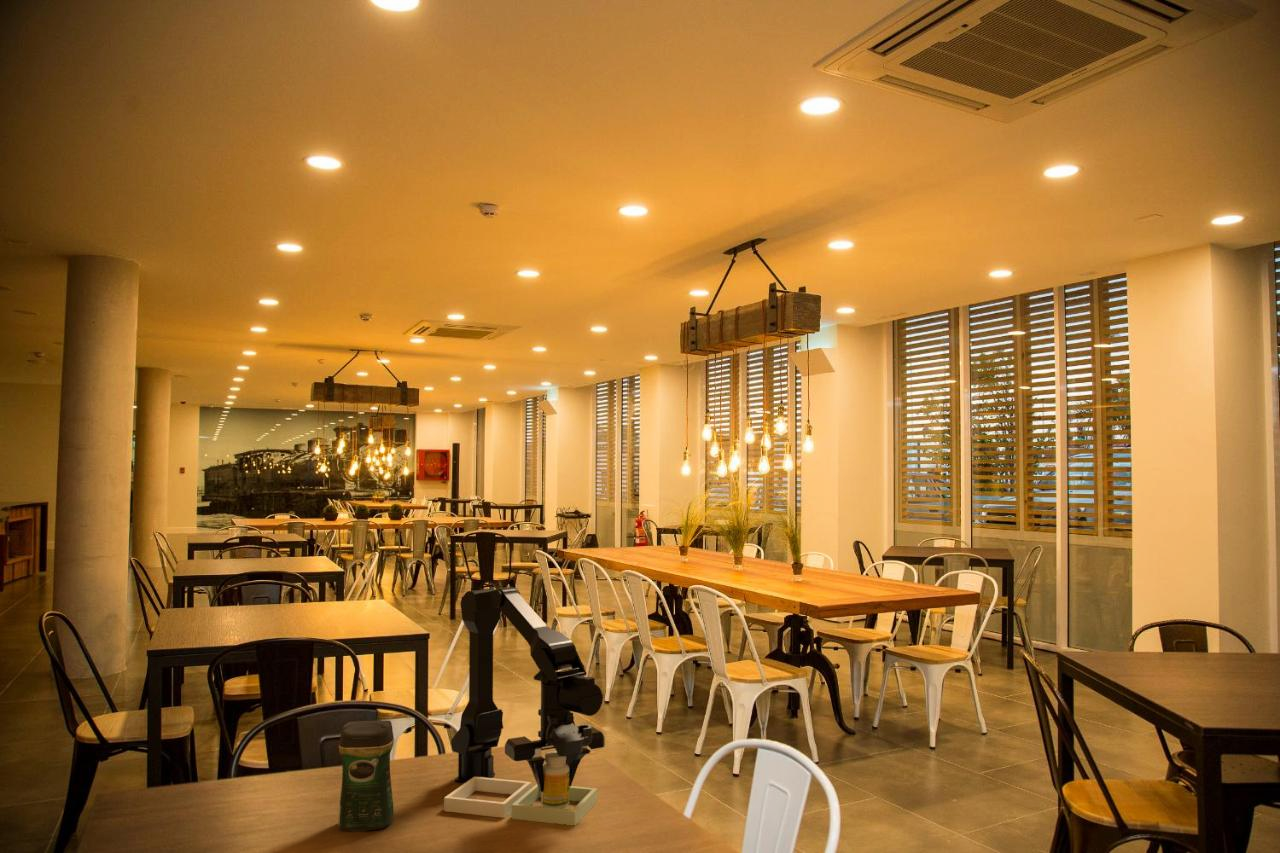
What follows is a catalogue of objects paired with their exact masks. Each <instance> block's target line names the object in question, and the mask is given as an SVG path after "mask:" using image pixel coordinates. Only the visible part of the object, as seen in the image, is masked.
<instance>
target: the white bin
mask: <svg viewBox="0 0 1280 853" xmlns="http://www.w3.org/2000/svg"><path fill="white" fill-rule="evenodd" d="M531 788H532V782H531V781H525V780H524V781H523V780H513V779H503V778H495V777H494V778H493V777H491V778H484V777H473V778H471V779H470V780H469V781H467V782H466V783H464V782H463V784H462V785H460V786H459V787H458V788H455V790H453V791H452V792H450V793H449V794H446V796H445V797H444V798H443V811H444V812H450V813H457V814H458V813H459V814H467V815H468V814H469V815H474V816H475V815H476V816H484V817H485V816H486V817H493V818H494V817H495V818H503V819H505V818H507V817H508V816H509V815H510V814H512V804H513V803H515V802H516V801H517V800H518V799H519V798H520V797H522V796H523V795H524V794H525V793H526V792H528V791H529V790H530V789H531ZM475 792H485V793H496V794H505V795H510V796H509V797H507V798H506V799H505V800H503V801H494V800H484V799H475V798H468V797H469V796H471V795H472V794H473V793H475Z"/></svg>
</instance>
